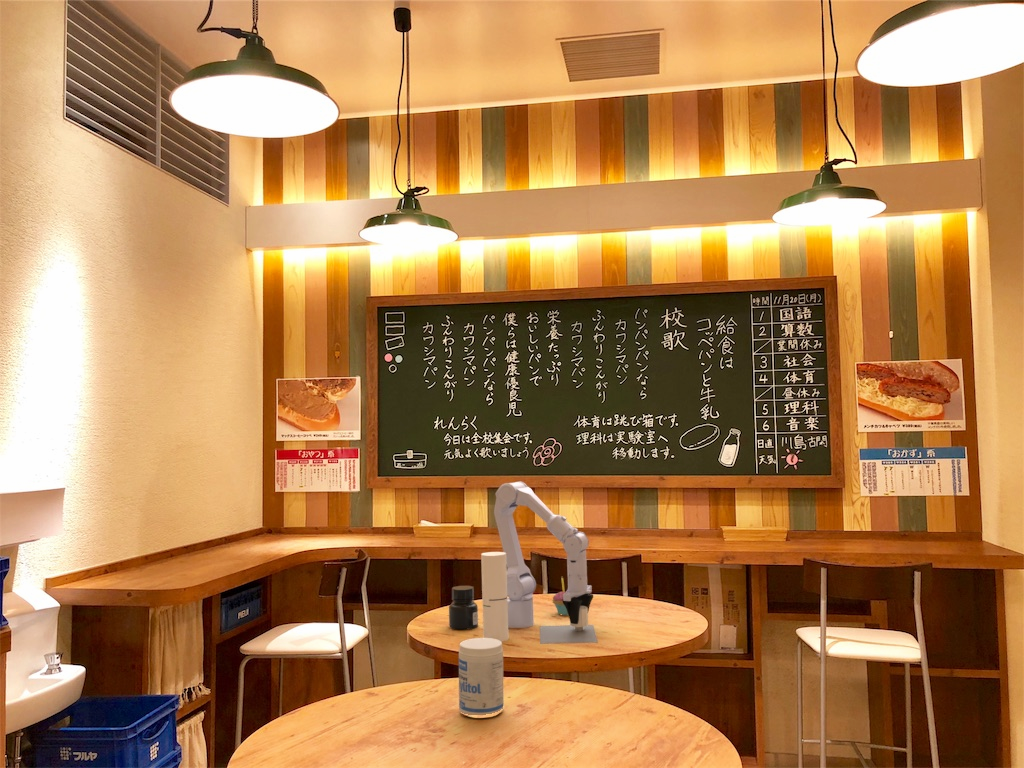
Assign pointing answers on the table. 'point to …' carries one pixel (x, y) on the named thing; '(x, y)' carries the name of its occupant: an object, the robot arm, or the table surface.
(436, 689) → the table surface
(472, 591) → the ink bottle
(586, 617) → the sleeve
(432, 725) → the table surface
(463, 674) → the supplement tub
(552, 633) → the duct board
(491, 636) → the cylindrical container
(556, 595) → the cupcake
